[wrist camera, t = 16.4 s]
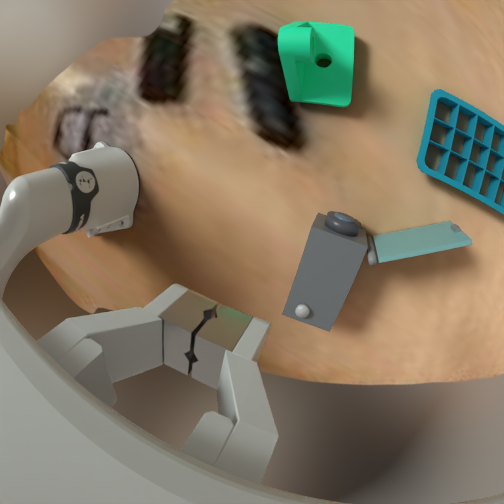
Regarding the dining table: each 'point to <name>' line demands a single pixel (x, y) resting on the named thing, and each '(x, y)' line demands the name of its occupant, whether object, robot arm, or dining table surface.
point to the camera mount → (307, 56)
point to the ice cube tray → (465, 148)
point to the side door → (416, 242)
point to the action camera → (326, 269)
